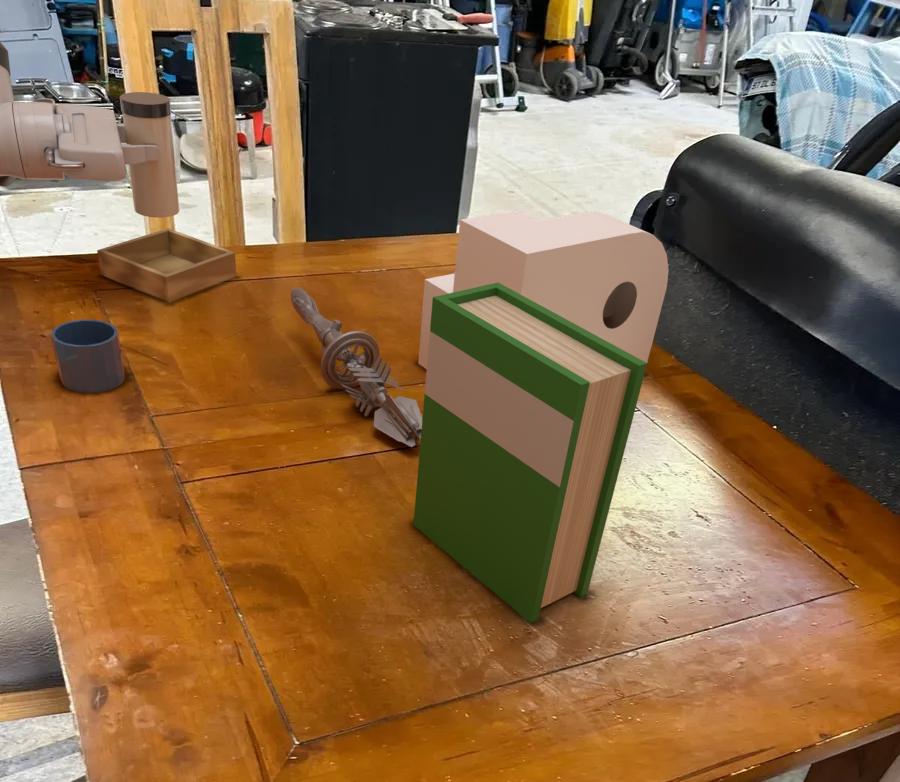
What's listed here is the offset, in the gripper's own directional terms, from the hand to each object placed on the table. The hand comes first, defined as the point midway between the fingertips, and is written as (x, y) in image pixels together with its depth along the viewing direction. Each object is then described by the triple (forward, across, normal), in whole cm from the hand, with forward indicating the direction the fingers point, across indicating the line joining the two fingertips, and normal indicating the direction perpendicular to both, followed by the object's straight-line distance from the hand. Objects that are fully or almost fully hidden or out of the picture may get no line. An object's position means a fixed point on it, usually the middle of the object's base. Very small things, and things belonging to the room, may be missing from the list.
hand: (156, 143), depth 118 cm
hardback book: (+24, -72, +18) cm, 78 cm away
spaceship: (+18, -36, +18) cm, 44 cm away
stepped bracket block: (+44, -35, +18) cm, 59 cm away
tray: (0, +1, +19) cm, 19 cm away
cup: (-12, -29, +18) cm, 37 cm away
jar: (-1, 0, +9) cm, 9 cm away
